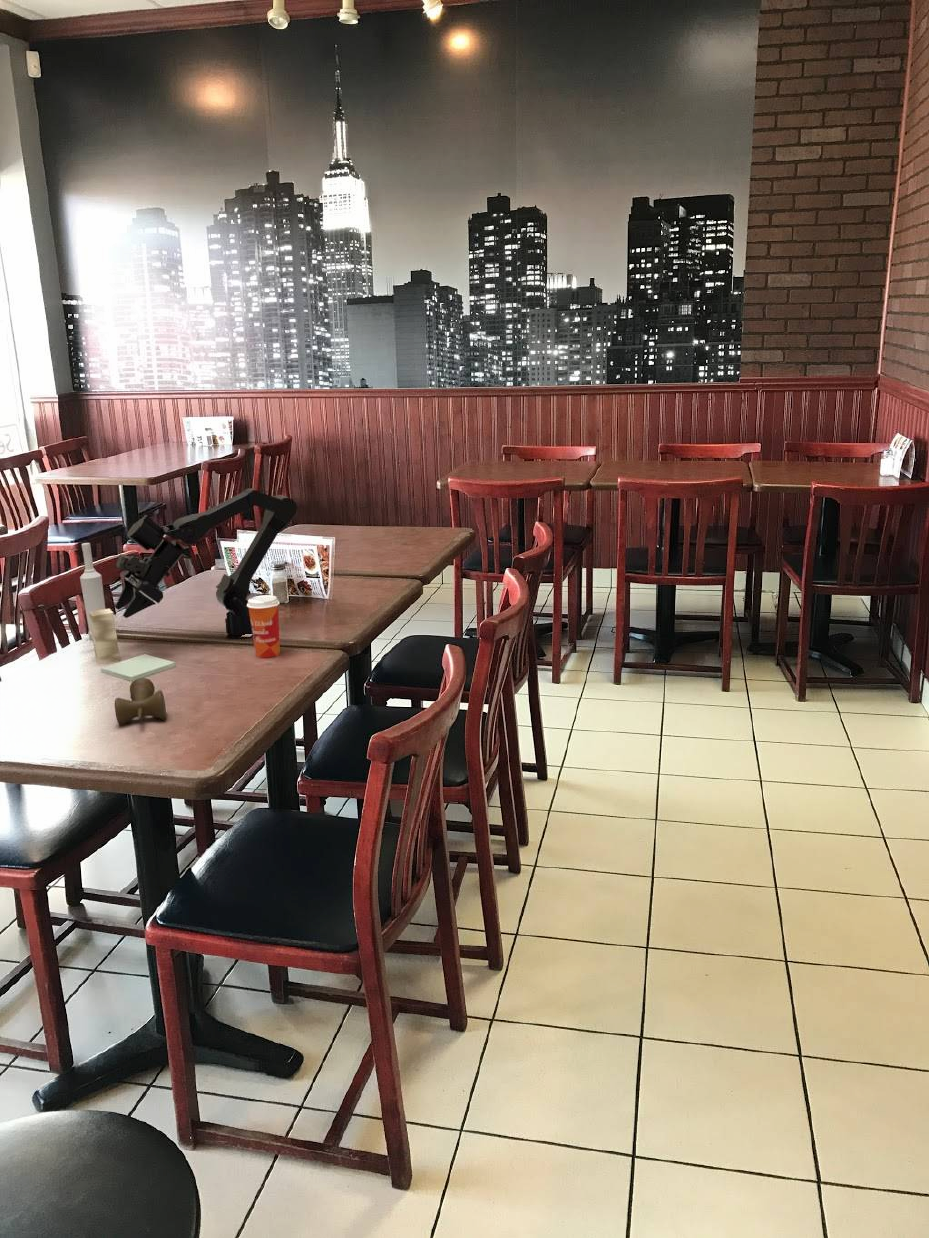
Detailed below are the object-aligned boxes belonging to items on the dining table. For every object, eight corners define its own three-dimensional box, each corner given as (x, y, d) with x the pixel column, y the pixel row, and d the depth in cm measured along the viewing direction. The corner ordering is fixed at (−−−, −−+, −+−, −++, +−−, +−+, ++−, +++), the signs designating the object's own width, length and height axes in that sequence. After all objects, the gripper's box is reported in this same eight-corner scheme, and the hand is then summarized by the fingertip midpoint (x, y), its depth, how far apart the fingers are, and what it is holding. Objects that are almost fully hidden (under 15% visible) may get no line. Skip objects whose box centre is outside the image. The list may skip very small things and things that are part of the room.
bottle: (114, 635, 262) (101, 542, 255) (99, 641, 258) (85, 546, 251) (99, 633, 264) (85, 541, 257) (84, 639, 260) (70, 545, 253)
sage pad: (145, 658, 243) (144, 654, 242) (175, 666, 235) (175, 662, 235) (101, 672, 234) (100, 667, 233) (131, 681, 226) (131, 677, 226)
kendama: (167, 697, 217) (167, 728, 198) (121, 705, 214) (116, 736, 196) (163, 671, 215) (162, 700, 197) (116, 678, 213) (111, 707, 194)
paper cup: (245, 658, 240) (239, 601, 236) (263, 648, 246) (257, 593, 242) (273, 660, 237) (268, 603, 233) (290, 651, 243) (285, 595, 240)
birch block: (116, 655, 246) (109, 608, 242) (120, 660, 242) (113, 612, 238) (95, 659, 243) (88, 611, 240) (99, 664, 239) (92, 616, 236)
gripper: (126, 535, 247) (85, 585, 245) (143, 548, 232) (100, 601, 229) (162, 562, 253) (122, 611, 251) (181, 576, 237) (139, 628, 235)
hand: (120, 612), depth 241 cm, fingers open, 9 cm apart
